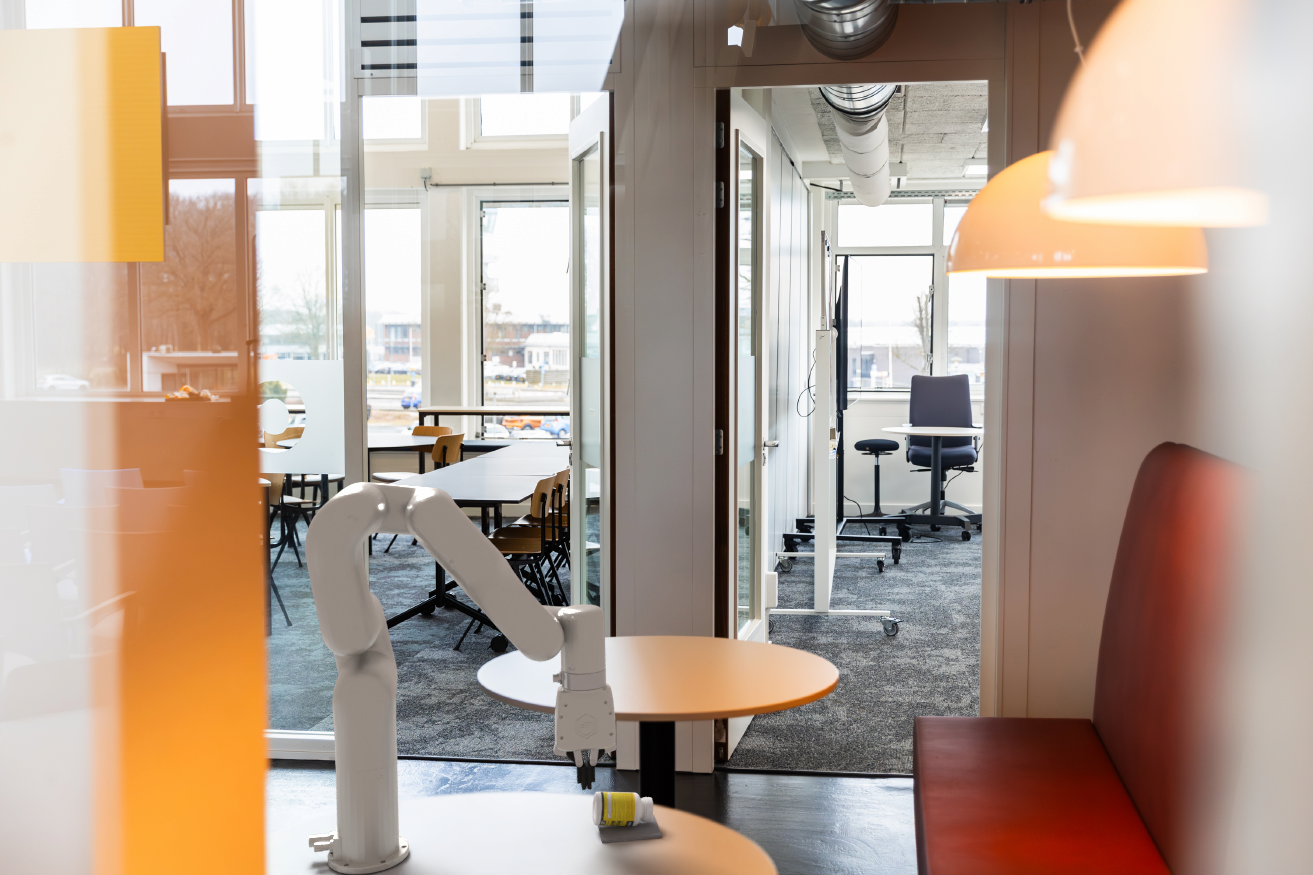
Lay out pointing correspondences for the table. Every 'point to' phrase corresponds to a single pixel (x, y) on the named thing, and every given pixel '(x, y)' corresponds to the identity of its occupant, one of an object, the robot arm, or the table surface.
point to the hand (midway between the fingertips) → (586, 786)
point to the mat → (630, 832)
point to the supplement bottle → (621, 809)
